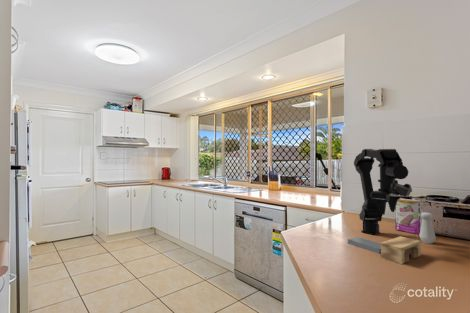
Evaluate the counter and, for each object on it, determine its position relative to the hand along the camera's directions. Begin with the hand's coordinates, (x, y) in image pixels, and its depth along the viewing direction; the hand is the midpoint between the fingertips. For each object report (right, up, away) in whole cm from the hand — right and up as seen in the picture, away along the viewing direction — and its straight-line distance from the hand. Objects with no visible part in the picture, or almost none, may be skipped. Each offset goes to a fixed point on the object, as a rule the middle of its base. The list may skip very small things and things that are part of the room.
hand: (388, 213), depth 107 cm
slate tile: (-11, -14, -4) cm, 18 cm away
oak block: (-4, -13, -15) cm, 20 cm away
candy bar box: (+22, -14, +18) cm, 32 cm away
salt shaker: (+19, -14, +2) cm, 23 cm away
